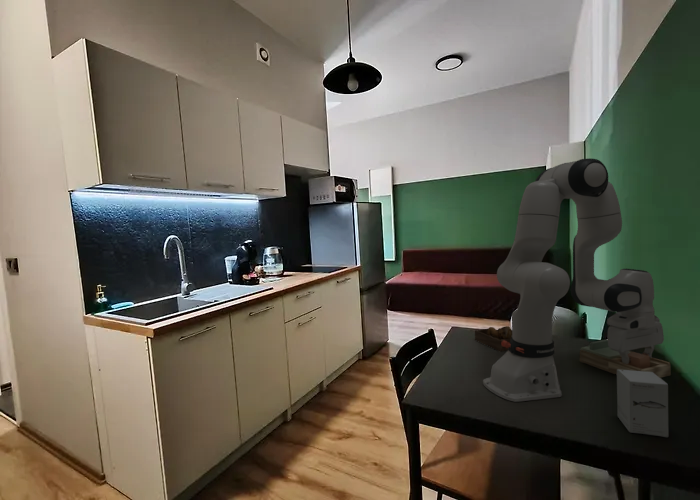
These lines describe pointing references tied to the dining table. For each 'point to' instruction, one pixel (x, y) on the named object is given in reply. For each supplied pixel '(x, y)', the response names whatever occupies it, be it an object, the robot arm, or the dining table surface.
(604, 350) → the cover
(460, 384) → the dining table surface
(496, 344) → the lion stand
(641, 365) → the cube
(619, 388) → the supplement box
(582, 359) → the wooden box
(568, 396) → the dining table surface
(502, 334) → the lion figurine
